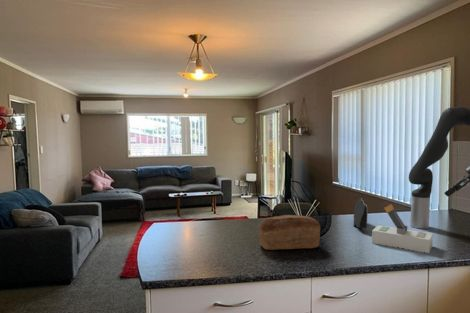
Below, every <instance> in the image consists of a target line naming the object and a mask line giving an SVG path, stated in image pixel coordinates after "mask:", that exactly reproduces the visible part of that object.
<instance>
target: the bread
mask: <svg viewBox="0 0 470 313" xmlns="http://www.w3.org/2000/svg"><path fill="white" fill-rule="evenodd" d="M320 237H321V225H320V223H319V222H318V220H316V219H315V218H313V217H311V216H308V215H307V216H306V215H300V214H299V215H297V214H283V215H276V216H271V217H266V218H264V219H263V220H262V221H261V222H260V224H259V225H258V239H259V244H260V246H261V247H262V248H263V249H264V250H266V251H267V250H269V251H275V250H296V249H315V248H318V247H319V246H320Z"/></svg>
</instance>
